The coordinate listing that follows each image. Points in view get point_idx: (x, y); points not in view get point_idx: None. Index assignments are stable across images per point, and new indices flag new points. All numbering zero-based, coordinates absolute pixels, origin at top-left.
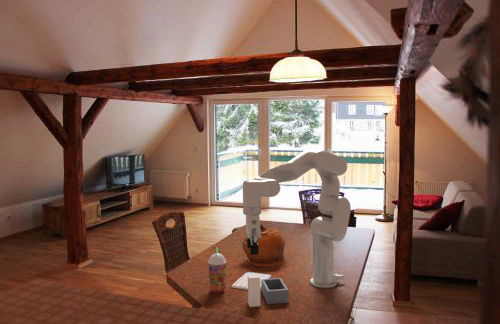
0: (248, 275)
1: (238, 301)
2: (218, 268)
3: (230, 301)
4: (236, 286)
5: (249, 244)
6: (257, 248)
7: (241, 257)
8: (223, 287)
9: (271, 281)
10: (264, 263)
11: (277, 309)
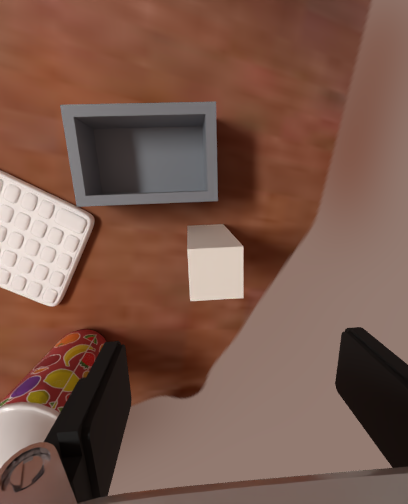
0: (204, 298)
1: (178, 288)
2: None
3: (175, 311)
4: (63, 292)
5: (120, 418)
6: (404, 373)
7: None
8: (96, 340)
9: (84, 160)
10: None
11: (258, 171)
